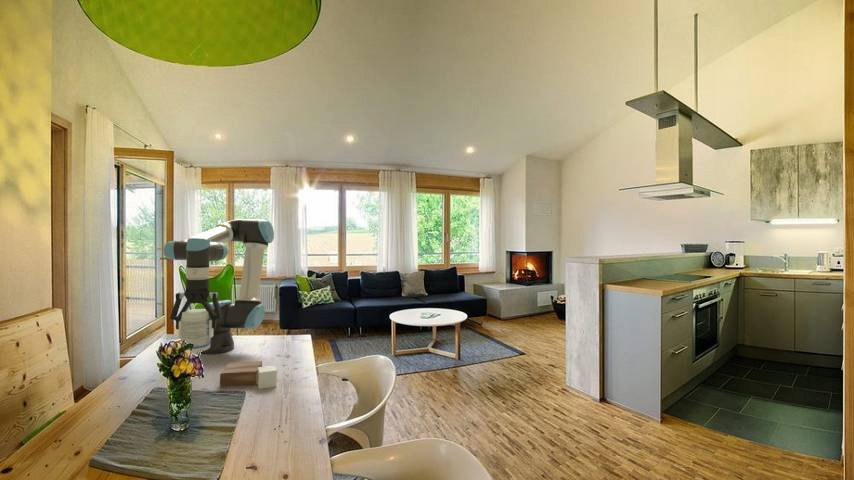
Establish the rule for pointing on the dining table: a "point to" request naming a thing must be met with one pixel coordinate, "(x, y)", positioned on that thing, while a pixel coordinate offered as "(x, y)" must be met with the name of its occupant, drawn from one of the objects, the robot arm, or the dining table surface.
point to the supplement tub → (196, 329)
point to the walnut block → (240, 374)
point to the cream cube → (267, 376)
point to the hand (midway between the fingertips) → (196, 337)
